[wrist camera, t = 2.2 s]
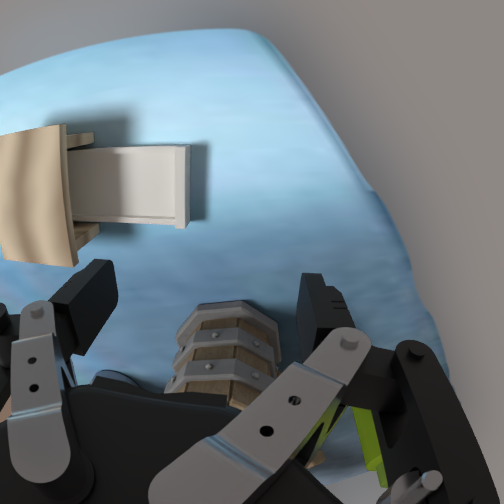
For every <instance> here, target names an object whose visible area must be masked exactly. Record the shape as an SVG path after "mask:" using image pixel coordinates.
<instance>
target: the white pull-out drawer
mask: <svg viewBox="0 0 504 504" xmlns="http://www.w3.org/2000/svg"><path fill="white" fill-rule="evenodd" d="M190 158H191V145H146V146H120V147H102V148H88V149H76V150H67V165H68V181H69V193H70V203H71V212H72V221H90V222H117V223H142V224H164V225H175V228H176V229H185V228H186V227H187V225H188V224H189V222H190Z"/></svg>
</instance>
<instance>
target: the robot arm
mask: <svg viewBox="0 0 504 504" xmlns="http://www.w3.org/2000/svg"><path fill="white" fill-rule="evenodd" d="M117 303H118V289H117V283H116V277H115V271H114V265H113V262H112V261H111V260H104V259H94V260H93V261H92V262H91V263H89V264H88V265H87V266H86V267H85V268H84V269H83V270H81V271H79V272H77V273H75V274H74V275H73V276H72V277H71V278H70V279H69V280H68V282H66V283H65V284H64V285H63V287H61V288H60V289H59V290H58V291H57V292H56V293H55V294H54V295H53V296H52V297H51V298H50V299H49V300H48V301H45V300H40V301H35V302H32V303H30V304H28V305H27V306H25V307H24V308H23V310H22V311H21V314H14V315H9V314H8V311H7V308H6V306H5V305H4V304H3V303H0V412H1V410H2V408H3V407H4V405H5V403H6V401H7V400H8V398H9V397H10V395H11V408H12V414H11V416H9V417H8V419H7V420H5V421H3V422H1V423H0V504H343V503H342V502H341V501H340V500H339V499H338V498H336V497H335V496H334V495H333V494H332V493H331V492H330V491H329V490H328V489H326V487H324V486H323V485H322V484H321V483H320V482H319V481H318V480H317V479H316V478H315V477H314V476H313V475H312V474H311V473H310V472H309V471H308V470H307V469H306V468H307V467H308V466H309V464H310V463H311V462H312V460H313V459H314V457H315V456H316V454H317V452H318V451H319V449H320V447H321V446H322V444H323V442H324V441H325V439H326V438H327V437H328V435H329V434H330V432H331V431H332V429H333V428H334V426H335V425H336V423H337V422H338V420H339V419H340V417H341V416H342V414H343V413H344V411H345V410H346V408H347V407H348V406H352V407H357V408H362V409H367V410H371V413H372V417H373V421H374V425H375V430H376V434H377V438H378V442H379V446H380V451H381V455H382V460H383V464H384V469H385V474H386V478H387V483H388V489H387V490H386V491H385V492H384V493H383V494H382V495H381V496H380V498H379V499H378V501H377V503H376V504H500V500H499V497H498V494H497V491H496V488H495V485H494V482H493V480H492V477H491V474H490V472H489V469H488V466H487V464H486V461H485V459H484V456H483V454H482V451H481V449H480V446H479V444H478V442H477V439H476V437H475V435H474V433H473V430H472V428H471V426H470V424H469V421H468V419H467V417H466V415H465V413H464V411H463V409H462V406H461V404H460V402H459V400H458V398H457V396H456V394H455V392H454V390H453V388H452V386H451V384H450V382H449V380H448V378H447V377H446V375H445V373H444V371H443V369H442V367H441V365H440V363H439V361H438V360H437V358H436V356H435V354H434V352H433V351H432V350H431V349H430V348H429V347H428V346H427V345H425V344H424V343H421V342H419V341H415V340H405V341H402V342H400V343H399V344H398V345H397V347H396V349H395V351H392V350H387V349H382V348H378V347H374V346H372V345H371V340H370V338H369V337H368V336H367V335H366V334H365V333H363V332H362V331H360V330H358V329H356V327H355V325H354V322H353V320H352V317H351V315H350V313H349V310H348V309H347V305H346V303H345V300H344V298H343V296H342V293H341V292H339V291H338V290H337V289H336V288H335V287H334V286H326V285H325V282H324V279H323V277H322V274H320V273H302V276H301V282H300V289H299V296H298V302H297V310H296V322H297V328H298V335H299V341H300V348H301V355H302V362H303V364H301V363H299V362H297V361H295V362H293V363H292V364H291V365H289V366H288V367H287V368H286V370H285V371H284V372H283V373H282V374H281V375H280V376H279V377H278V378H277V379H276V380H275V381H274V382H273V383H272V384H271V385H269V386H268V387H267V388H266V389H265V390H264V391H263V392H262V393H261V394H260V395H259V396H258V397H257V398H256V399H255V400H254V401H253V402H252V403H251V404H250V405H249V406H248V407H246V408H245V409H244V410H243V411H242V410H240V409H238V408H235V407H232V406H229V405H227V395H223V394H211V393H201V392H179V393H161V394H156V393H152V392H149V391H147V390H144V389H142V388H140V387H139V386H138V385H137V384H136V383H135V382H134V381H132V380H131V379H129V378H128V377H126V376H124V375H122V374H120V373H117V372H113V371H100V372H98V373H96V374H95V375H94V377H93V379H92V381H91V382H90V384H88V385H79V386H78V384H77V380H76V375H75V371H74V366H73V362H72V360H71V355H72V354H77V355H81V356H84V355H85V354H86V352H87V351H88V349H89V347H90V346H91V344H92V343H93V341H94V340H95V338H96V336H97V335H98V333H99V332H100V330H101V329H102V327H103V326H104V324H105V323H106V321H107V320H108V318H109V317H110V315H111V314H112V312H113V311H114V309H115V308H116V306H117Z"/></svg>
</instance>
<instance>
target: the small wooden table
mask: <svg viewBox="0 0 504 504" xmlns="http://www.w3.org/2000/svg"><path fill="white" fill-rule="evenodd" d="M90 143H94V132H88V133H79V134H70V135H67V134H66V124H59V125H52V126H46V127H41V128H35V129H30V130H25V131H20V132H15V133H11V134H6V135H2V136H0V244H1V248H2V253H3V257H4V259H5V260H13V261H21V262H30V263H38V264H47V265H55V266H65V267H74V266H75V265H77V264H78V263H79V260H78V254H77V251H78V250H80V249H81V248H82V247H83V246H84V245H86V244H87V243H88V242H89V241H90V240H92V239H93V238H94V237H95V236H96V235H98V234H99V233H100V228H99V223H90V222H73V221H72V212H71V203H70V193H69V181H68V165H67V149H68V148H72V147H76V146H81V145H85V144H90Z"/></svg>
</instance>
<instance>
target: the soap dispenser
mask: <svg viewBox="0 0 504 504" xmlns="http://www.w3.org/2000/svg"><path fill="white" fill-rule="evenodd" d="M351 407H352V406H351ZM352 410H353V414H354V418H355V422H356V426H357V430H358V435H359V439H360V443H361V447H362V451H363V456H364V460H365V464H366V468H367V470H369V471H377V474H378V478H379V483H380V486H381V487H384V488H388V483H387V478H386V474H385V469H384V464H383V460H382V455H381V451H380V446H379V442H378V438H377V434H376V430H375V425H374V421H373V417H372V413H371V410H367V409H362V408H357V407H352Z"/></svg>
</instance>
